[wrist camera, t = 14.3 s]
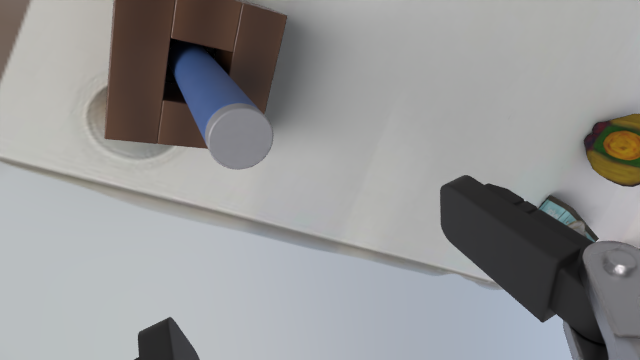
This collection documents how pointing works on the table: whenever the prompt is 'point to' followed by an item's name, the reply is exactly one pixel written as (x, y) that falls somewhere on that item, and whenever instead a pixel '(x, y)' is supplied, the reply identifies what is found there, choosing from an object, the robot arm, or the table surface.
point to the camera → (567, 217)
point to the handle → (220, 108)
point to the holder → (152, 56)
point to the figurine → (616, 150)
